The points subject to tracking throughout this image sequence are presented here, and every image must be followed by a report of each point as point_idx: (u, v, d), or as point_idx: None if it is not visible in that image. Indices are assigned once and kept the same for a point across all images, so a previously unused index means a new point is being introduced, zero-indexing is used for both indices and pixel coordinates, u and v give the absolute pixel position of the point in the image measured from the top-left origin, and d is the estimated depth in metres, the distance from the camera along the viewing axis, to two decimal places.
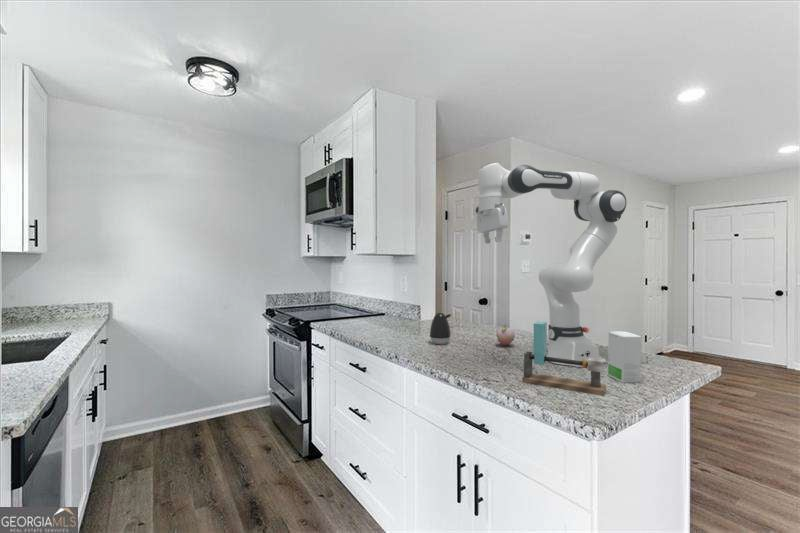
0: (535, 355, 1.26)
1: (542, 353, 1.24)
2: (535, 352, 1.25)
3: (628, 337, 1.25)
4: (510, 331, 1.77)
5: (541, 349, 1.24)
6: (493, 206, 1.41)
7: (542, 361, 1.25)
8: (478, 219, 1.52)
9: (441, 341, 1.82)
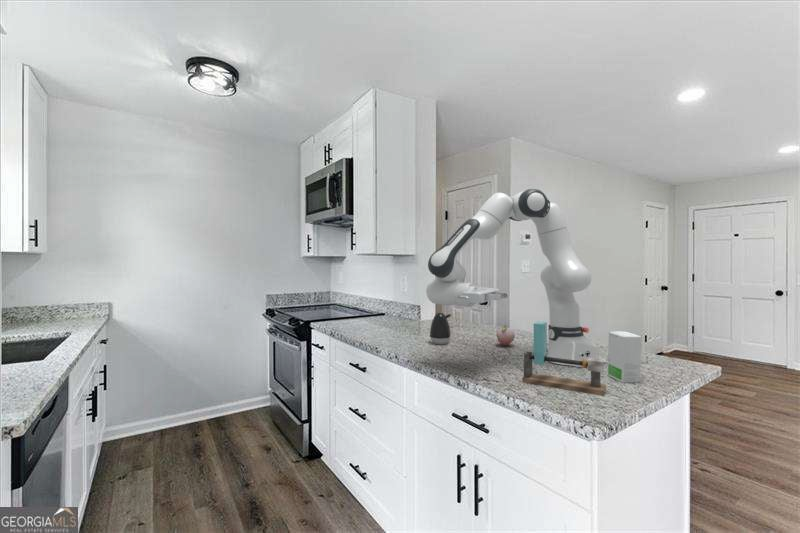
0: (535, 355, 1.26)
1: (542, 353, 1.24)
2: (535, 352, 1.25)
3: (628, 337, 1.25)
4: (510, 331, 1.77)
5: (541, 349, 1.24)
6: None
7: (542, 361, 1.25)
8: None
9: (441, 341, 1.82)
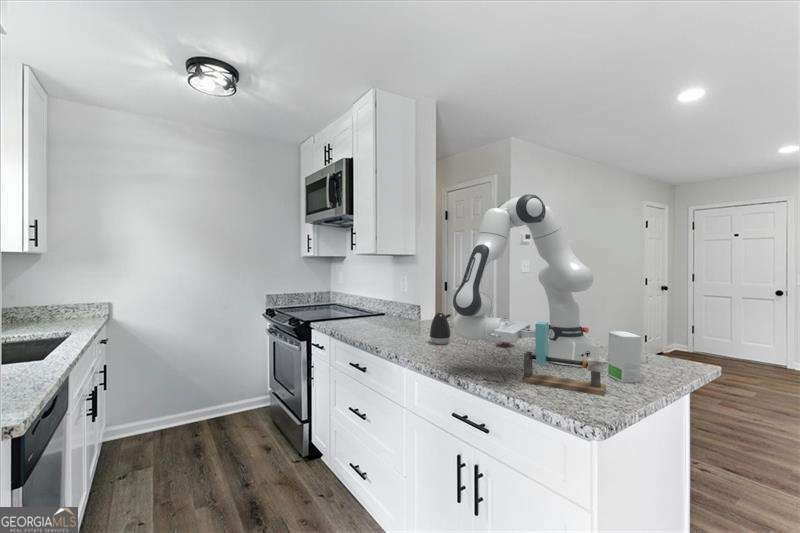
0: (537, 355, 1.26)
1: (544, 353, 1.24)
2: (537, 352, 1.25)
3: (628, 337, 1.25)
4: None
5: (543, 349, 1.24)
6: None
7: (544, 361, 1.25)
8: None
9: (441, 341, 1.82)
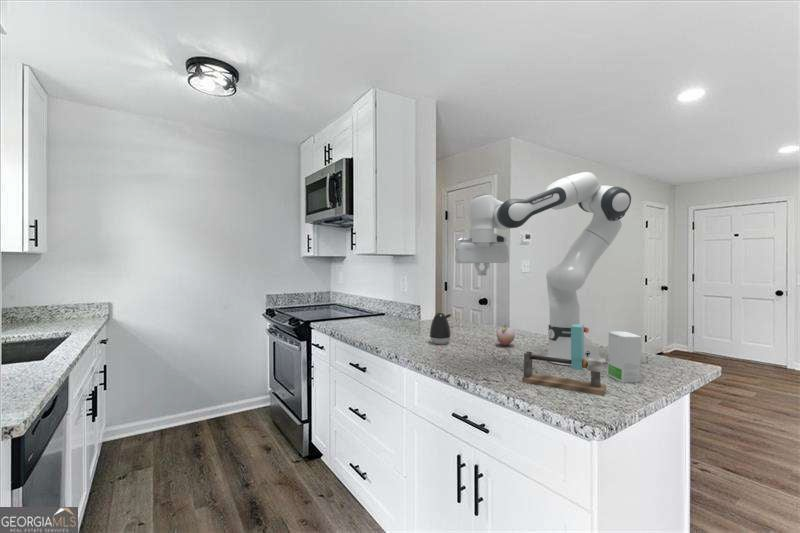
0: (572, 360, 1.20)
1: (580, 358, 1.18)
2: (572, 356, 1.19)
3: (628, 337, 1.25)
4: (510, 331, 1.77)
5: (579, 353, 1.18)
6: None
7: (580, 366, 1.19)
8: None
9: (441, 341, 1.82)
